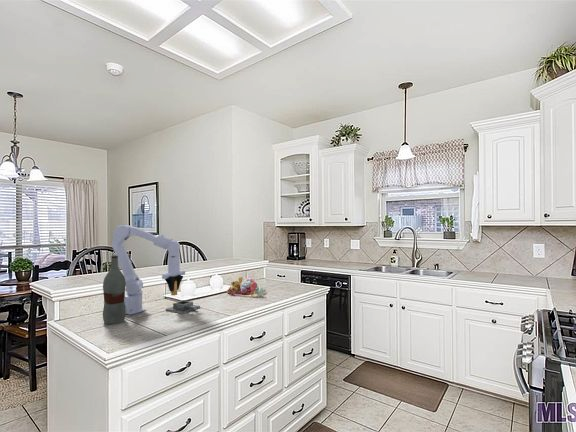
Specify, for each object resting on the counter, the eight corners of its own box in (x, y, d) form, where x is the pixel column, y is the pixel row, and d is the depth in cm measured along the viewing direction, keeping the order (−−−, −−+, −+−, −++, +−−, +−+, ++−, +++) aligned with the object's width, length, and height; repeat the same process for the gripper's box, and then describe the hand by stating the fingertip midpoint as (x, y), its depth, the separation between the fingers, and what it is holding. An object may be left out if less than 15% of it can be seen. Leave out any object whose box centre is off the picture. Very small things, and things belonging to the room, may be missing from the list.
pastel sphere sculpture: (220, 295, 202) (220, 280, 202) (237, 288, 224) (237, 274, 224) (258, 298, 194) (258, 283, 194) (272, 290, 217) (272, 276, 217)
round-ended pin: (174, 295, 169) (174, 282, 169) (169, 295, 170) (169, 281, 170) (178, 294, 172) (178, 280, 172) (173, 293, 173) (173, 280, 173)
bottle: (100, 325, 144) (100, 257, 144) (105, 319, 153) (105, 255, 153) (123, 324, 146) (123, 256, 147) (127, 318, 155) (127, 254, 156)
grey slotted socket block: (187, 314, 161) (187, 307, 162) (165, 310, 167) (165, 304, 167) (203, 308, 172) (203, 301, 172) (182, 305, 178) (182, 298, 178)
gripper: (169, 266, 163) (169, 294, 163) (189, 262, 176) (189, 288, 176) (158, 265, 166) (159, 293, 166) (179, 262, 179) (179, 287, 179)
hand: (174, 290), depth 171 cm, fingers closed on round-ended pin, 3 cm apart
